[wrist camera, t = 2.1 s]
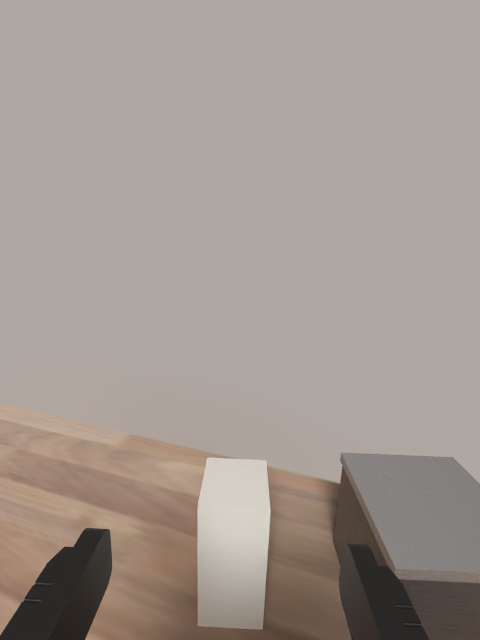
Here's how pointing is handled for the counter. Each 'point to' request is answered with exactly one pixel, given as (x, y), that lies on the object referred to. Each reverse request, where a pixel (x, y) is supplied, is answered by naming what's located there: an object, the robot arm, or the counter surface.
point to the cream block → (233, 543)
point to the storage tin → (418, 533)
